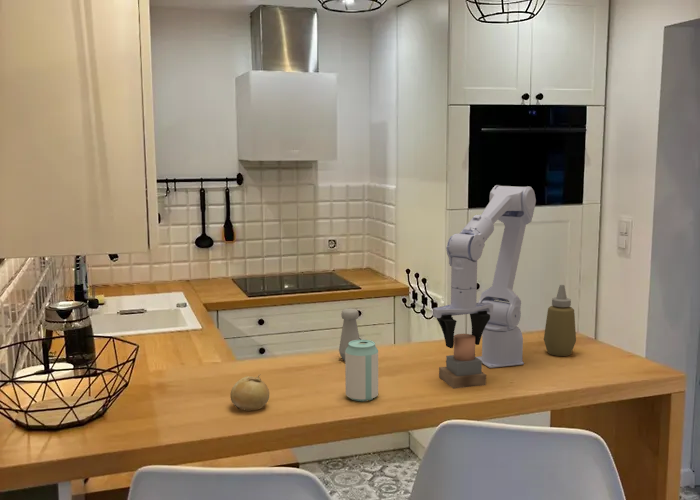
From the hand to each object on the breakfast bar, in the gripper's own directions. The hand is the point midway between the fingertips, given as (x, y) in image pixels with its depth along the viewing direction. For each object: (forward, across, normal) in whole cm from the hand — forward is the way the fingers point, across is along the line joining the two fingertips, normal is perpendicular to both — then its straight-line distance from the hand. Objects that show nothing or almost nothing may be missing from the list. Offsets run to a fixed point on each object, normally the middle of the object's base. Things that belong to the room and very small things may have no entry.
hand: (462, 345), depth 163 cm
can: (+9, +25, +1) cm, 27 cm away
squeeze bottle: (+9, -34, -9) cm, 36 cm away
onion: (+9, +49, -3) cm, 50 cm away
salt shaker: (+9, +18, -25) cm, 32 cm away
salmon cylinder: (+3, 0, 0) cm, 3 cm away
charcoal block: (+6, 0, 0) cm, 6 cm away
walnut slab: (+9, 0, 0) cm, 9 cm away
